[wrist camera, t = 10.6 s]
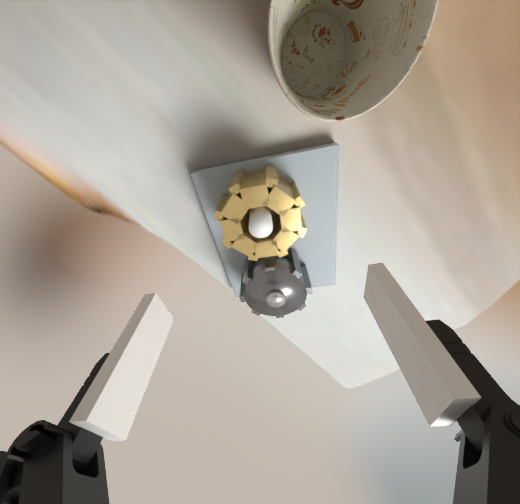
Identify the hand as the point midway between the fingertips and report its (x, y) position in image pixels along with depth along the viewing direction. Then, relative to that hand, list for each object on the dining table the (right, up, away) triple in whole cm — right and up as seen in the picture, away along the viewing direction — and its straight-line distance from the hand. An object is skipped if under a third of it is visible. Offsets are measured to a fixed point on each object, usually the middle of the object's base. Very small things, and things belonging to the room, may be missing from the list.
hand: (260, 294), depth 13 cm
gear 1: (0, +8, +12) cm, 15 cm away
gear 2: (+2, 0, +18) cm, 18 cm away
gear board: (+2, +5, +16) cm, 17 cm away
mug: (+5, +22, +4) cm, 23 cm away
